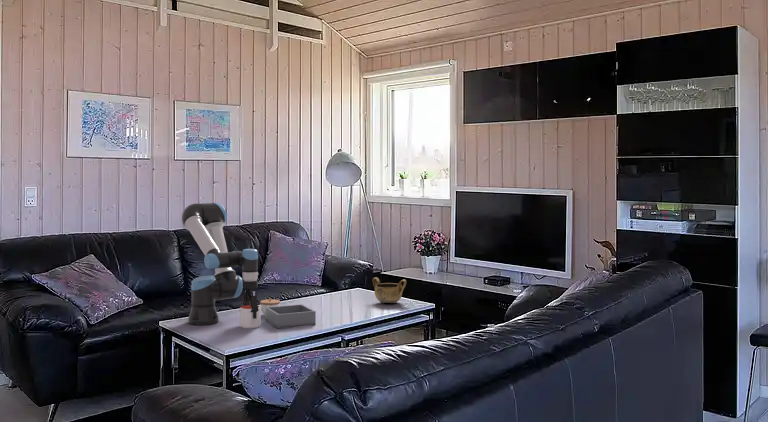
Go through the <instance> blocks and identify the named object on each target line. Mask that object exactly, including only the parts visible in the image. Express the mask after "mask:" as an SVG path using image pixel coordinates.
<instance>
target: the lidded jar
mask: <svg viewBox="0 0 768 422" xmlns="http://www.w3.org/2000/svg"><path fill="white" fill-rule="evenodd" d="M259 301H260V302H259V306H260V313H262V314H263V315H264V316H265V317H266V307H276V306H281V301H280V300H279V299H272V298H271V297H269V298H268V299H261V300H259Z"/></svg>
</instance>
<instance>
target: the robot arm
mask: <svg viewBox="0 0 768 422" xmlns="http://www.w3.org/2000/svg"><path fill="white" fill-rule="evenodd" d="M181 222H182V225H183V227H184V228H185V230H187V231H189V233H190V234H191V236H192V238H193V239H194V241H195V242H196V243H197V245H198V247H199V248H200V250H201V251H202V253H203V254H204V260H203V263H204V266H205V268H206V269H207V270H208V269H209V270H212V269H214V272H215V273H214V275H212V274H211V275H202V276H198V277H195V278H194V279H192V281H191V285H190V289H191V309H190V312H189V315H188V319H187V323H188V324H189V323H190V324H189V325H192V324H196V325H195V326H208V325H214V324H217V323H218V322H219V321H220V319H219V314H218V312H217V308H216V301H221V300H229V299H230V300H232V299H236V298H238V297H240V295H241V294H242V293H243V298H242V306H246V305H251V309H252V310H251V325H257V311H258V306H259V305H258V295H257V294H258V293H257V291H255V289H257V288H259V286H258V285H259V280H258V277H259V275H260V273H259V272H258V269H259V253H258V250H257V249H255V248H245V249H242V251H241V250H234V251H230V252H229V250H228V247H227V242H226V239H225V235H224V228H223V227H224V226H225V223H226V222H227V211H226V209H225V207H224V205H223V204H221V203H218V202H217V203H215V202H208V203H207V202H206V203H205V202H204V203H191V204H189V205H187V207H185V208H184V210H183V212H182V214H181ZM235 267H237V268H238V267H241V269H242V274H241V275H242V277H241V276H240V275H238V274H237V273H236V270H234V269H233V268H235Z"/></svg>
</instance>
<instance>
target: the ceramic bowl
mask: <svg viewBox="0 0 768 422" xmlns="http://www.w3.org/2000/svg"><path fill="white" fill-rule="evenodd" d="M371 282H372V286H373V288H374V296H375V298H376V299H377V301H379V302H381V304H384V303H394V304H395V303H398V302H399V301H400V300H401V298H402V296H403V291H404V290H405V288H406V285H407V280H406V279H404V278H403V279H402V280H400V281H399V282H398V283H393V282H384V283H381V280H380V279H379V277H373V278H372V279H371ZM402 282H403V284H402Z"/></svg>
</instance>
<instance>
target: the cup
mask: <svg viewBox="0 0 768 422" xmlns="http://www.w3.org/2000/svg"><path fill="white" fill-rule="evenodd" d="M251 310H252V309H251V305H246V306H243V305H242V306H240V307H239V325H240V327H241V328H242V329H248V330H249V329H255V328H256V329H257V328H260V326H261V308H260V305H258V311H257V325H251Z"/></svg>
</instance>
